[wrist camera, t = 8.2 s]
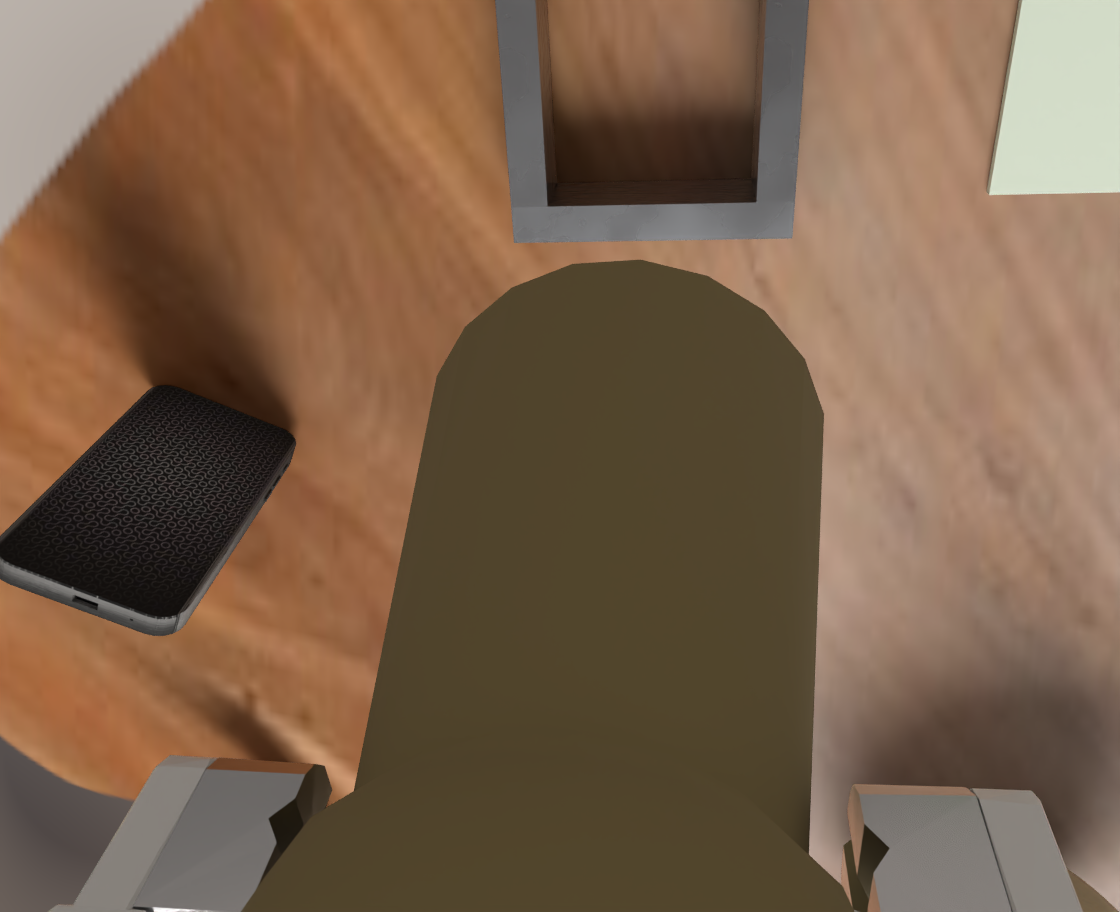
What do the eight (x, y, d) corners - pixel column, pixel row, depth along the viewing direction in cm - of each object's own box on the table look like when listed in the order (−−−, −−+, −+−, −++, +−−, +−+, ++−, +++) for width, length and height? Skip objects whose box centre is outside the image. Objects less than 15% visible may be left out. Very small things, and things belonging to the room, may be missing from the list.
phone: (155, 396, 51) (-20, 574, 39) (158, 379, 51) (-18, 553, 38) (299, 453, 52) (175, 645, 39) (304, 436, 52) (179, 626, 39)
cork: (502, 190, 13) (52, 976, 4) (904, 357, 14) (1353, 1392, 4) (384, 525, 16) (-27, 1408, 7) (715, 649, 17) (748, 1620, 8)
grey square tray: (804, -87, 37) (814, -82, 34) (784, 212, 43) (792, 238, 40) (505, -71, 38) (490, -65, 36) (525, 217, 44) (514, 242, 41)
